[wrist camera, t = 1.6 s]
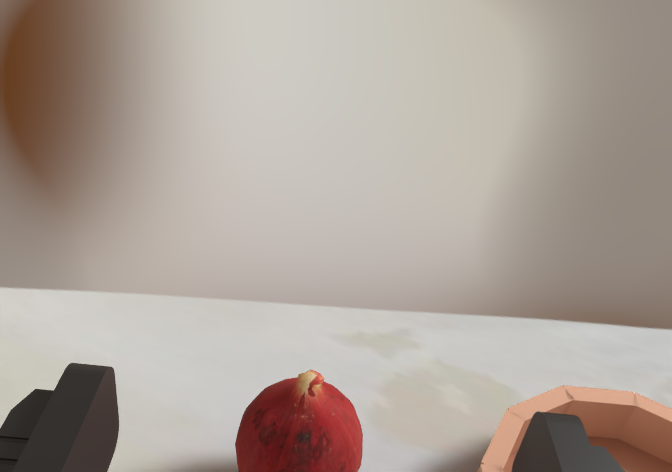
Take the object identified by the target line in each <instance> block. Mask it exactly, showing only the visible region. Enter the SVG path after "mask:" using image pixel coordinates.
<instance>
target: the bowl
mask: <svg viewBox="0 0 672 472" xmlns="http://www.w3.org/2000/svg"><path fill="white" fill-rule="evenodd" d="M538 411H539V412H549V413H559V414H569V415H576V416H578V417H579V418H580V420H581V421H582V423H583V426H584V428H585V431H586V433H587V436H588V439H589V441H590V444H591V445H593V446H603V447H605V448H606V449H607V450H608V452H609V453H610V454H611V455H612V456H613V458H614V459H615V460H616V461H617V462H618V463H619V465H620V466H621V467H622V468H623V469H624V471H625V472H672V409H671V408H669V407H667V406H664V405H662V404H660V403H658V402H655V401H653V400H651V399H649V398H646V397H644V396H642V395H640V394H637V393H635V394H634V393H633V392H628V391H617V390H607V389H596V388H585V387H574V386H564V385H563V387H562V386H560V387H557V388H555V389H553V390H550V391H548V392H545V393H543V394H541V395H538V396H536V397H534V398H531V399H529V400H526V401H524V402H522V403H519V404H517V405H514V406H512V407H510V408H508V410H506V412H505V414H504V416H503V418H502V420H501V422H500V424H499V426H498V428H497V431H496V433H495V435H494V437H493V439H492V441H491V443H490V445H489V447H488V449H487V451H486V453H485V455H484V457H483V459H482V461H481V464H480V466H479V469H478V471H477V472H512V465H513V462H514V459H515V456H516V454H517V452H518V449H519V447H520V445H521V442H522V440H523V437H524V435H525V433H526V430H527V428H528V426H529V423H530V421H531V419H532V417H533V415H534V413H536V412H538Z"/></svg>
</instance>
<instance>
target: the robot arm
mask: <svg viewBox="0 0 672 472" xmlns="http://www.w3.org/2000/svg"><path fill="white" fill-rule="evenodd" d="M118 431H119V416H118V405H117V394H116V383H115V374H114V369H113V368H112V367H107V366H98V365H88V364H78V363H71V364H69V365H68V366H67V367H66V369H65V371H64V373H63V374H62V376H61V378H60V380H59V382H58V384H57V386H56V388H55V390H54V391H51V390H41V389H35V390H34V391H33V392H31V393H30V394H29V395H28V396H27V397H26V398H24V399H23V400H22V401H21V402H20V403H19V404H17V405H16V406H15V407H14V408H13V409H12V410H11V411H10V413H9V414H8V416H7V418H6V420H5V421H4V423H3V425H2V427H1V428H0V472H107V471H108V468H109V465H110V462H111V460H112V457H113V454H114V451H115V447H116V443H117V438H118ZM512 472H625V471H624V469H623V468H622V467H621V466H620V465H619V463H618V462H617V461H616V460H615V459H614V458H613V456H612V455H611V454H610V453H609V452H608V450H607V449H606V448H605V447H603V446H593V445H591V444H590V441H589V439H588V436H587V433H586V431H585V428H584V426H583V423H582V421H581V420H580V418H579V417H578V416H576V415H569V414H559V413H549V412H539V411H538V412H536V413H534V415H533V417H532V419H531V421H530V423H529V426H528V428H527V430H526V433H525V435H524V437H523V440H522V442H521V445H520V447H519V449H518V452H517V454H516V456H515V459H514V462H513V465H512Z"/></svg>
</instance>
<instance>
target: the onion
mask: <svg viewBox="0 0 672 472" xmlns="http://www.w3.org/2000/svg"><path fill="white" fill-rule="evenodd" d="M362 438H363V434H362V429H361V425H360V422H359V419H358V417H357V414H356V411H355V409H354V406H353V405H352V403H351V402H350V400H349V399H348V398H347V397H345V396H344V395H343V394H342V393H341V392H340V391H339V390H338V389H337V388H335V387H334V386H333V385H331V384H328V383H326V382H324V377H323V376H322V375H321V374H320V373H318V372H316V371H313V370H309V371H307V372H306V373H302V374H299V376H298V378H291V379H285V380H283V381H280V382H278V383H275V384H273V385H271V386H269V387H267V388H265V389H264V390H263V391H262V392H261V393H260V394H259V395H258V396H257V397H256V398H255V399H254V400H253V401H252V402H251V403H250V405H249V406H248V407H247V408H246V410H245V412H244V414H243V417H242V420H241V423H240V427H239V430H238V434H237V438H236V443H235V446H236V455H237V464H238V469H239V472H358V470H359V468H360V466H361V459H362Z"/></svg>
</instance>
